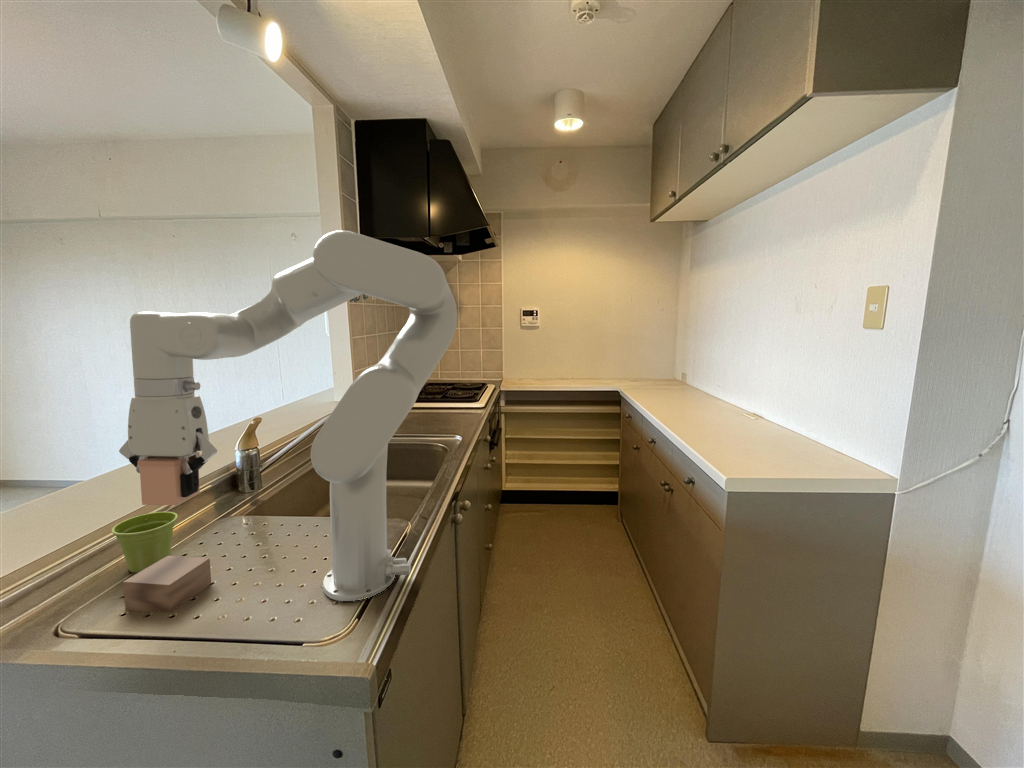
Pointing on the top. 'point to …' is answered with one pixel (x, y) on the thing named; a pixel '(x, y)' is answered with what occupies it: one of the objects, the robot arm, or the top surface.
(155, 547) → the plant pot
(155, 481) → the peach lipped block
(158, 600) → the walnut box
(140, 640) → the top surface
